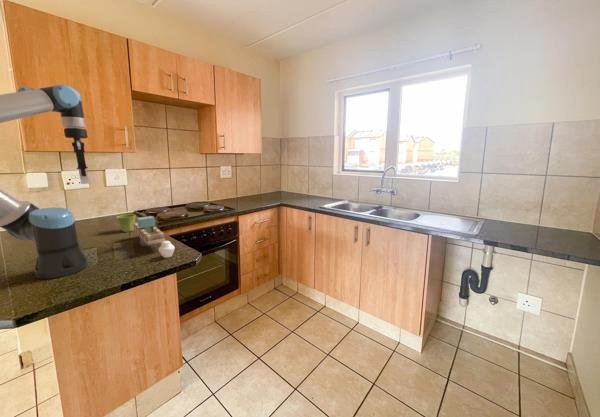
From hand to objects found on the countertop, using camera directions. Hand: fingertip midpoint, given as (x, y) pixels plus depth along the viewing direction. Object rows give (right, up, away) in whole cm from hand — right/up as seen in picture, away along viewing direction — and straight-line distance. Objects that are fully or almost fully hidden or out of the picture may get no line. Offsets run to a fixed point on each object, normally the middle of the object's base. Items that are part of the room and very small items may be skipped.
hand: (85, 183), depth 117 cm
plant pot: (-3, -24, +35) cm, 42 cm away
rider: (+21, -22, +11) cm, 33 cm away
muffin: (+39, -32, -5) cm, 51 cm away
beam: (+22, -28, +12) cm, 38 cm away
